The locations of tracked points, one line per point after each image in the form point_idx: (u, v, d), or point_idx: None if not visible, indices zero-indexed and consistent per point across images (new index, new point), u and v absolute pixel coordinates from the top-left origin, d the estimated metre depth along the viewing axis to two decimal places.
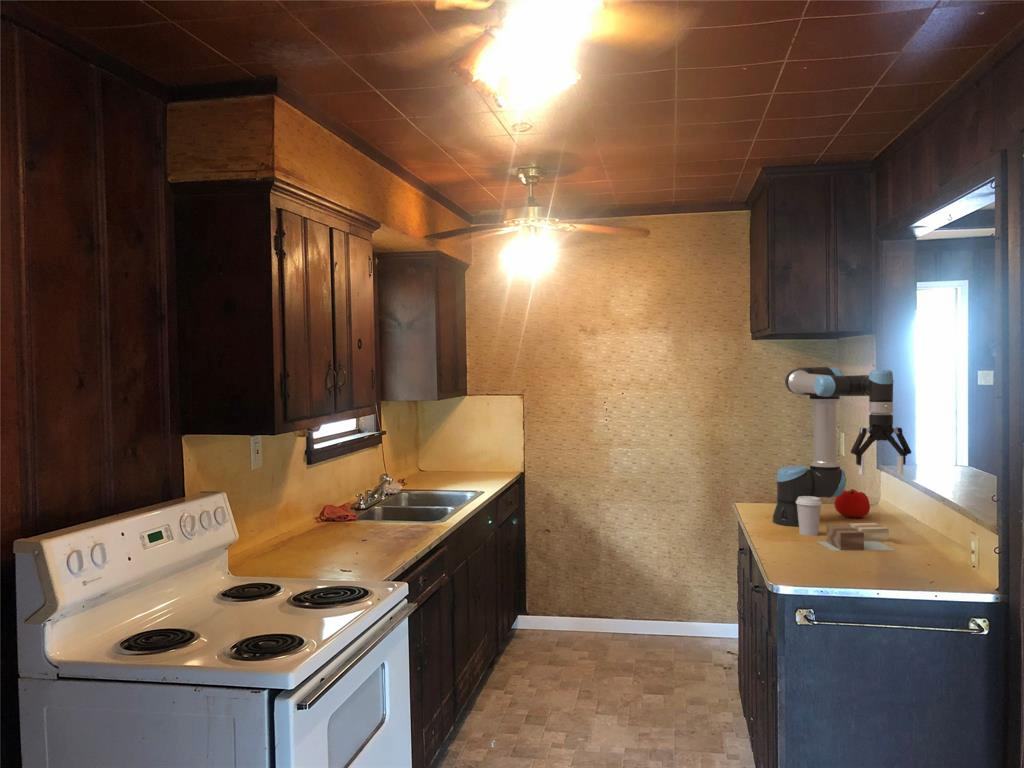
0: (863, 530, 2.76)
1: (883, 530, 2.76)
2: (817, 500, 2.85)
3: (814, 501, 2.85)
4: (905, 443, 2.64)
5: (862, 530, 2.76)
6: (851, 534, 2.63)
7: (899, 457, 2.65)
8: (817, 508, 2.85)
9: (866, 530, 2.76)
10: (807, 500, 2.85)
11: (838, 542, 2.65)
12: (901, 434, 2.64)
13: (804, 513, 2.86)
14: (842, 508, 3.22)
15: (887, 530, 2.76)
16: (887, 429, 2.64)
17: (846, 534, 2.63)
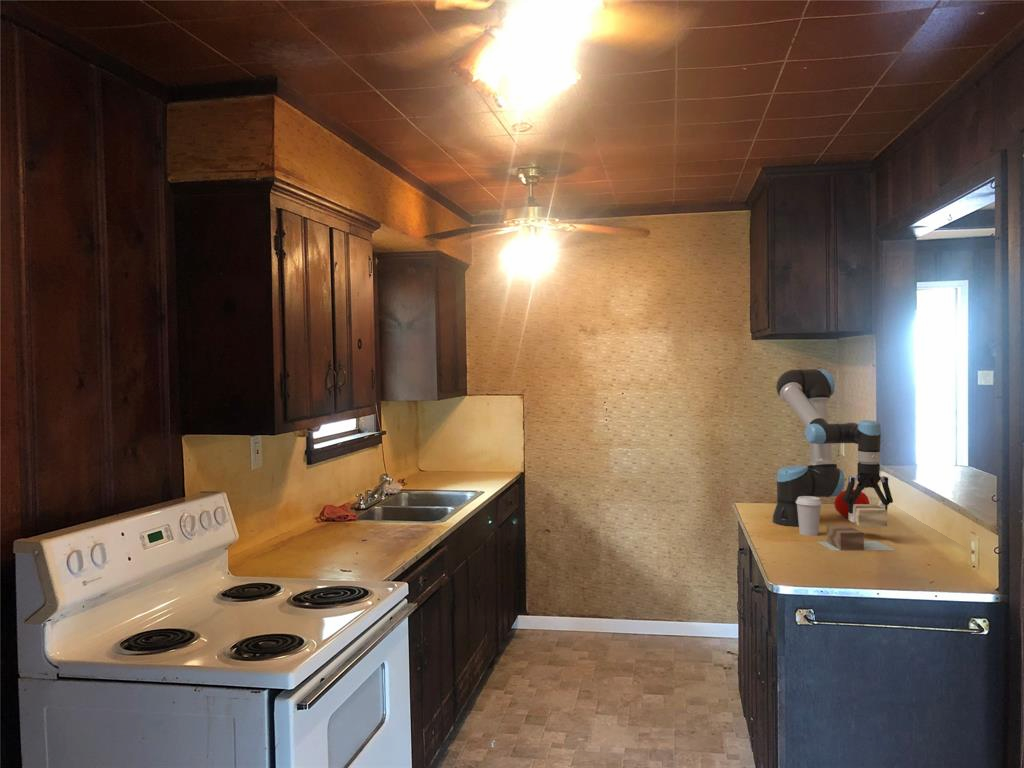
0: (861, 511, 2.77)
1: (881, 511, 2.76)
2: (817, 500, 2.85)
3: (814, 501, 2.85)
4: (889, 492, 2.80)
5: (860, 511, 2.77)
6: (851, 534, 2.63)
7: (881, 506, 2.81)
8: (817, 508, 2.85)
9: (864, 511, 2.76)
10: (807, 500, 2.85)
11: (838, 542, 2.65)
12: (886, 483, 2.79)
13: (804, 513, 2.86)
14: (842, 508, 3.22)
15: (886, 511, 2.76)
16: (874, 476, 2.79)
17: (846, 534, 2.63)
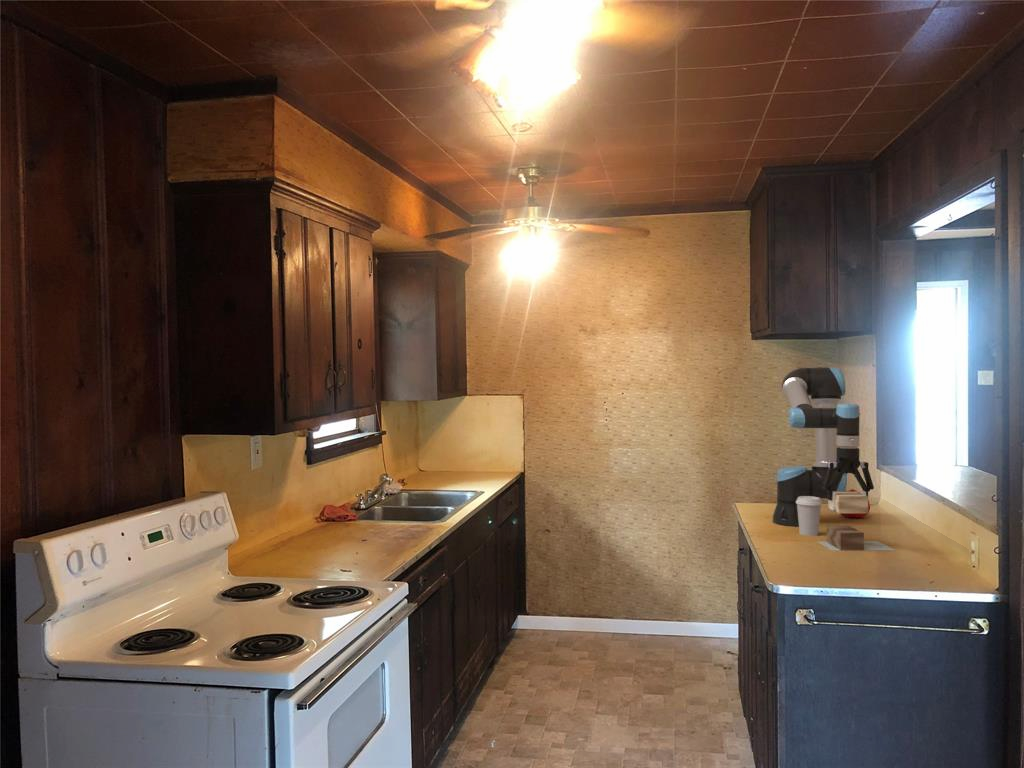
0: (841, 497, 2.65)
1: (862, 497, 2.64)
2: (817, 500, 2.85)
3: (814, 501, 2.85)
4: (869, 478, 2.68)
5: (840, 497, 2.65)
6: (851, 534, 2.63)
7: (862, 492, 2.69)
8: (817, 508, 2.85)
9: (844, 497, 2.65)
10: (807, 500, 2.85)
11: (838, 542, 2.65)
12: (867, 469, 2.68)
13: (804, 513, 2.86)
14: None
15: (866, 497, 2.64)
16: (854, 462, 2.68)
17: (846, 534, 2.63)
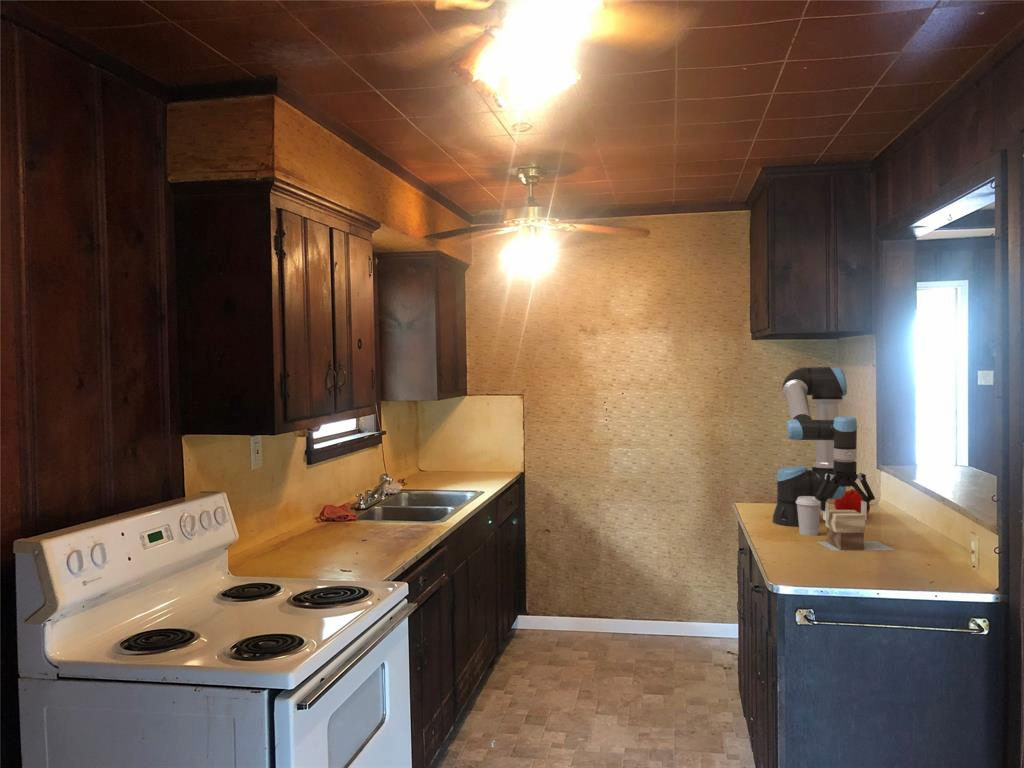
0: (838, 516, 2.64)
1: (859, 517, 2.63)
2: (817, 500, 2.85)
3: (814, 501, 2.85)
4: (869, 489, 2.68)
5: (836, 516, 2.64)
6: (851, 534, 2.63)
7: (863, 503, 2.69)
8: (817, 508, 2.85)
9: (841, 516, 2.64)
10: (807, 500, 2.85)
11: (838, 542, 2.65)
12: (865, 480, 2.67)
13: (804, 513, 2.86)
14: (842, 508, 3.22)
15: (863, 517, 2.63)
16: (851, 475, 2.67)
17: (846, 534, 2.63)
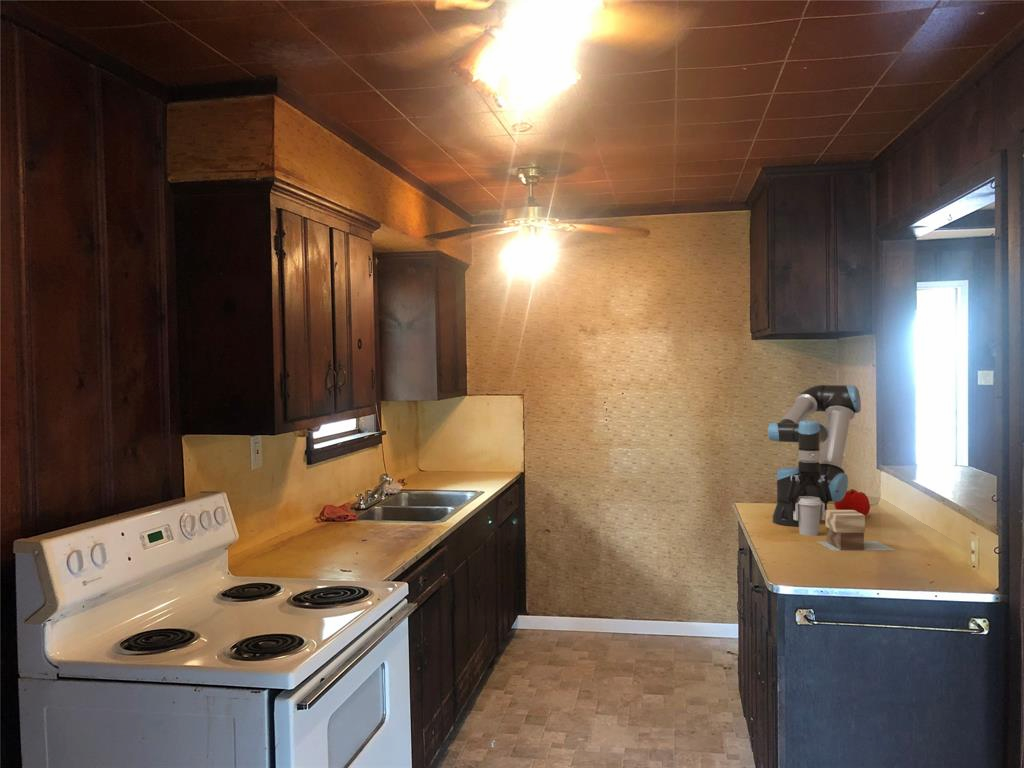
0: (838, 516, 2.64)
1: (859, 517, 2.63)
2: (817, 500, 2.85)
3: (814, 501, 2.85)
4: (828, 491, 2.87)
5: (836, 516, 2.64)
6: (851, 534, 2.63)
7: None
8: (817, 508, 2.85)
9: (841, 516, 2.64)
10: (807, 500, 2.85)
11: (838, 542, 2.65)
12: (826, 482, 2.87)
13: (804, 513, 2.86)
14: (842, 508, 3.22)
15: (863, 517, 2.63)
16: (815, 475, 2.87)
17: (846, 534, 2.63)
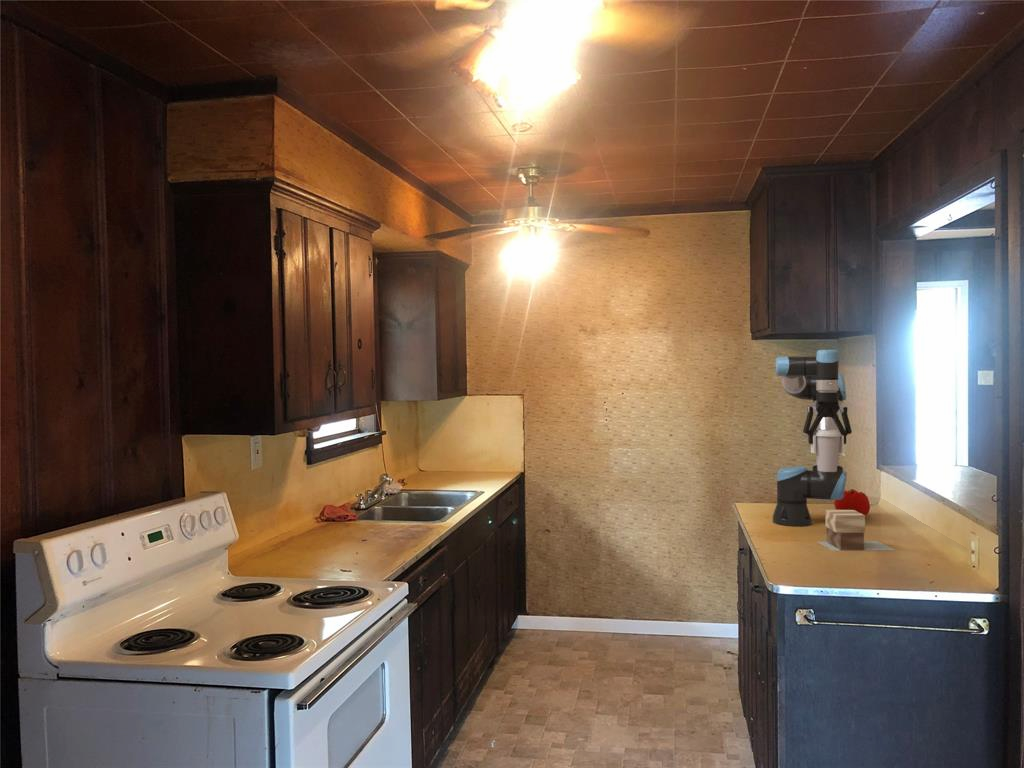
0: (838, 516, 2.64)
1: (859, 517, 2.63)
2: (836, 431, 2.73)
3: (833, 432, 2.73)
4: (847, 422, 2.75)
5: (836, 516, 2.64)
6: (851, 534, 2.63)
7: (840, 437, 2.76)
8: (835, 439, 2.73)
9: (841, 516, 2.64)
10: (825, 431, 2.73)
11: (838, 542, 2.65)
12: (845, 413, 2.75)
13: (822, 445, 2.74)
14: (842, 508, 3.22)
15: (863, 517, 2.63)
16: (833, 405, 2.76)
17: (846, 534, 2.63)
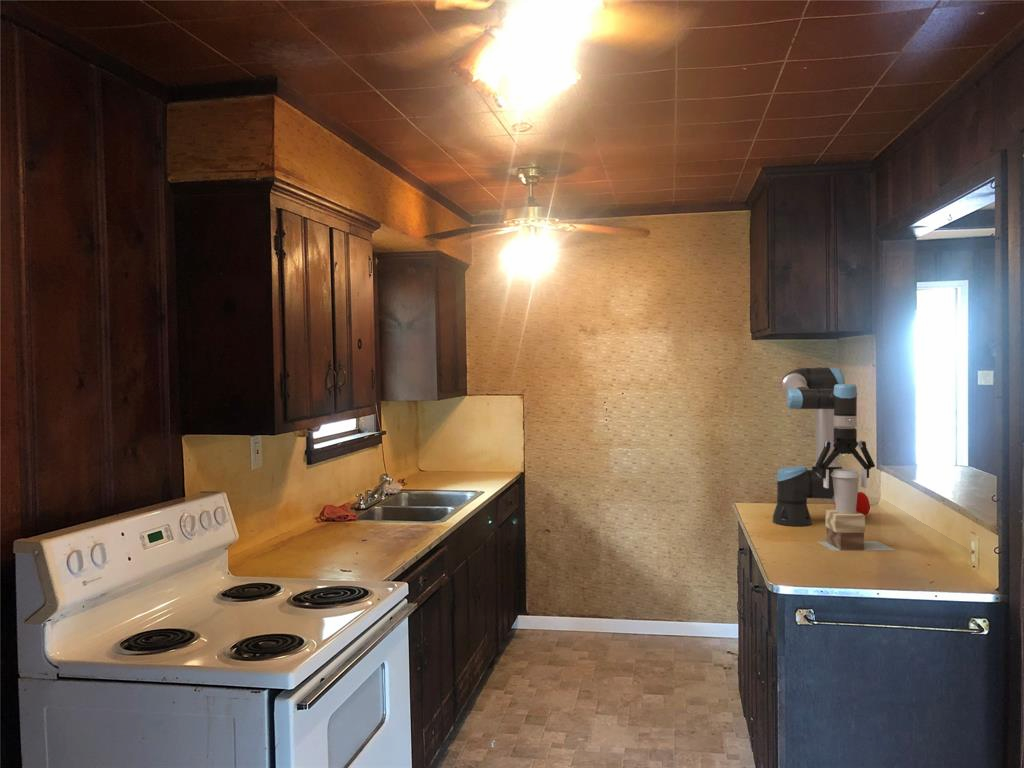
0: (838, 516, 2.64)
1: (859, 517, 2.63)
2: (855, 472, 2.65)
3: (852, 473, 2.64)
4: (869, 457, 2.67)
5: (836, 516, 2.64)
6: (851, 534, 2.63)
7: (863, 470, 2.68)
8: (854, 481, 2.65)
9: (841, 516, 2.64)
10: (844, 472, 2.65)
11: (838, 542, 2.65)
12: (865, 448, 2.67)
13: (841, 487, 2.66)
14: None
15: (863, 517, 2.63)
16: (851, 443, 2.67)
17: (846, 534, 2.63)
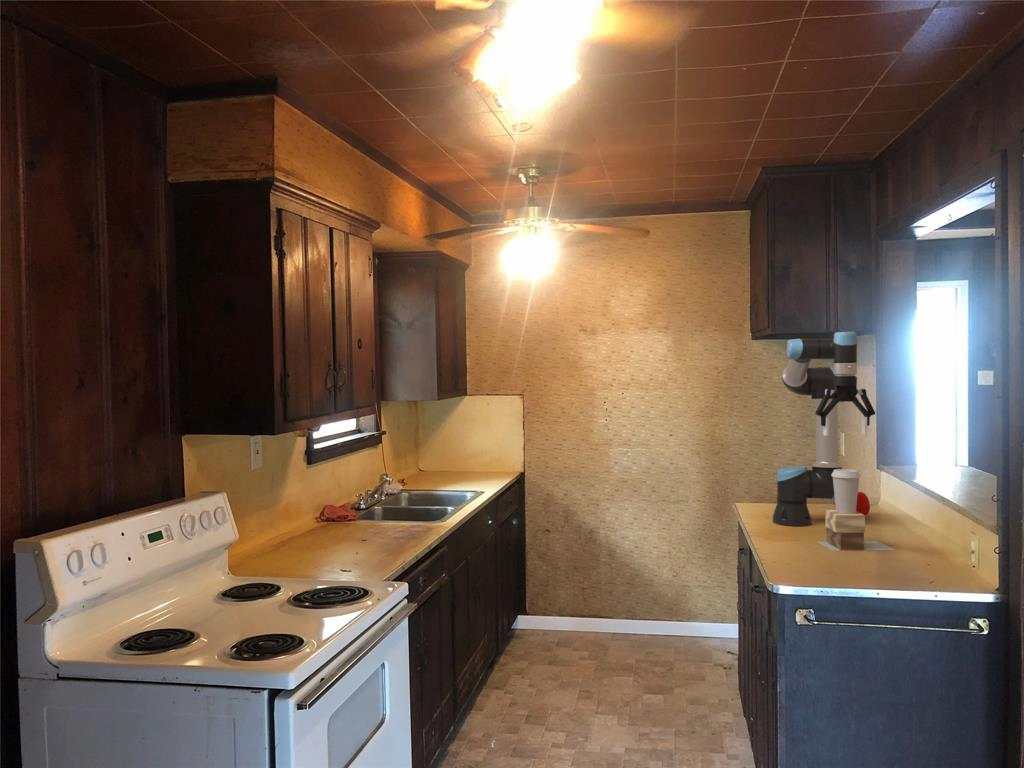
0: (838, 516, 2.64)
1: (859, 517, 2.63)
2: (855, 472, 2.65)
3: (852, 473, 2.64)
4: (869, 404, 2.67)
5: (836, 516, 2.64)
6: (851, 534, 2.63)
7: (863, 418, 2.68)
8: (855, 481, 2.65)
9: (841, 516, 2.64)
10: (844, 472, 2.65)
11: (838, 542, 2.65)
12: (865, 395, 2.66)
13: (841, 487, 2.66)
14: None
15: (863, 517, 2.63)
16: (851, 390, 2.67)
17: (846, 534, 2.63)
